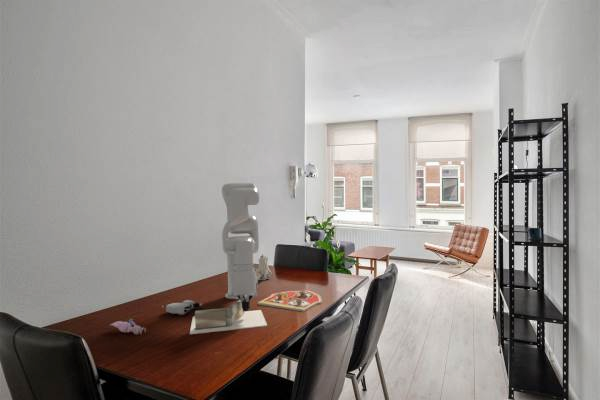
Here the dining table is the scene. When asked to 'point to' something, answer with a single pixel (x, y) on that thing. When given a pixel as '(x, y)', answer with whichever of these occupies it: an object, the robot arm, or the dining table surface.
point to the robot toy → (181, 307)
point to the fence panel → (237, 310)
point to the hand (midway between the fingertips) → (245, 310)
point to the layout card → (235, 323)
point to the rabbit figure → (128, 327)
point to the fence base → (213, 318)
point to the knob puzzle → (292, 300)
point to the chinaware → (263, 269)
